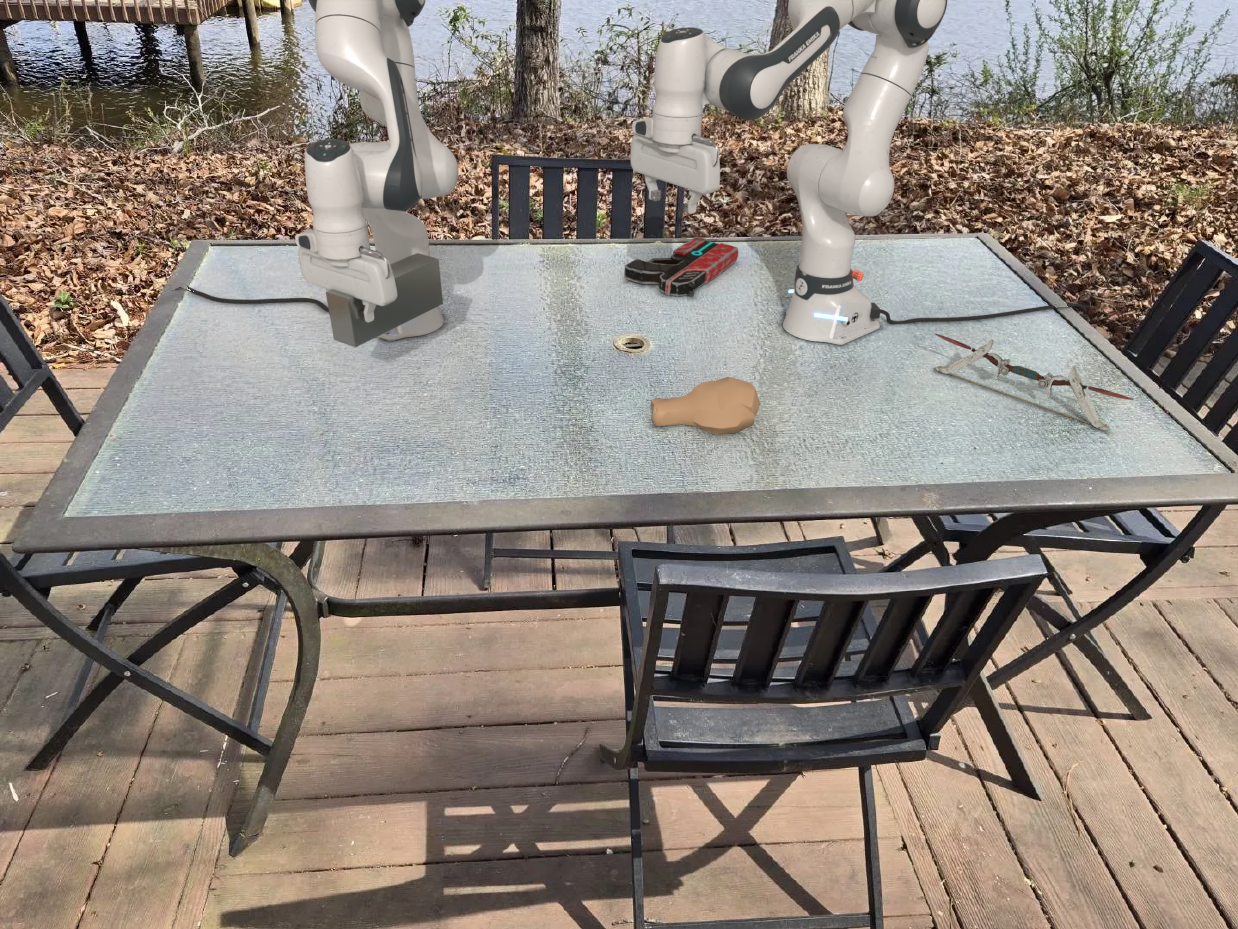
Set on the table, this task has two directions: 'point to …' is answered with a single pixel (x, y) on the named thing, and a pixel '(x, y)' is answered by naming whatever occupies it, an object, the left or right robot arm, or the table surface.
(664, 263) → the gun
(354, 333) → the bar
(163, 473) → the table surface
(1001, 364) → the bow
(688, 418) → the squash
